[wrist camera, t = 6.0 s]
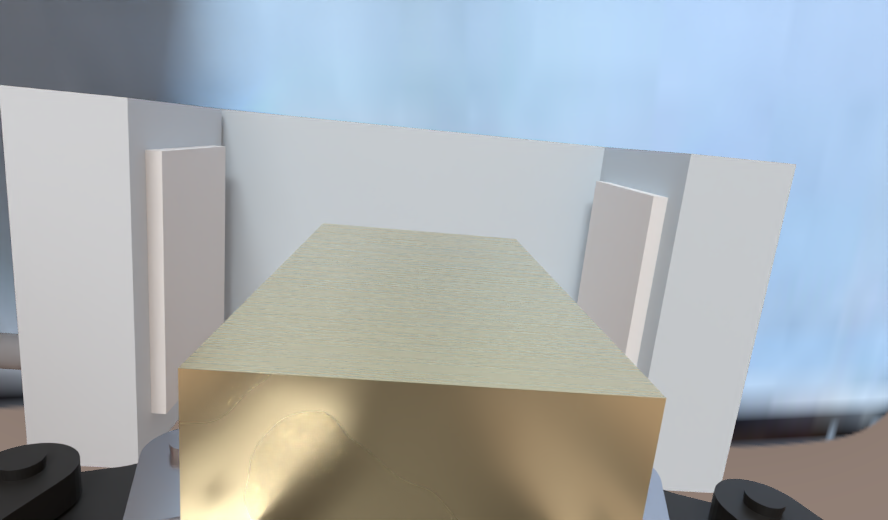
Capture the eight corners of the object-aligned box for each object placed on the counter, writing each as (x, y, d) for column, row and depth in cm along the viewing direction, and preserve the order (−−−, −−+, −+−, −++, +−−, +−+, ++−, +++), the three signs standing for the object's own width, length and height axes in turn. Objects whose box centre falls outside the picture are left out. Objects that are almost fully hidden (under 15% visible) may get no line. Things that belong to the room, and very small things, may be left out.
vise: (160, 349, 28) (34, 457, 18) (156, 102, 25) (6, 85, 16) (631, 380, 30) (731, 493, 20) (674, 154, 27) (811, 165, 18)
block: (311, 489, 14) (186, 923, 6) (322, 223, 13) (177, 369, 5) (483, 498, 15) (563, 919, 7) (515, 238, 13) (666, 399, 5)
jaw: (9, 355, 25) (-168, 453, 18) (-13, 85, 23) (-233, 61, 15) (230, 369, 26) (154, 469, 18) (233, 110, 24) (145, 99, 16)
